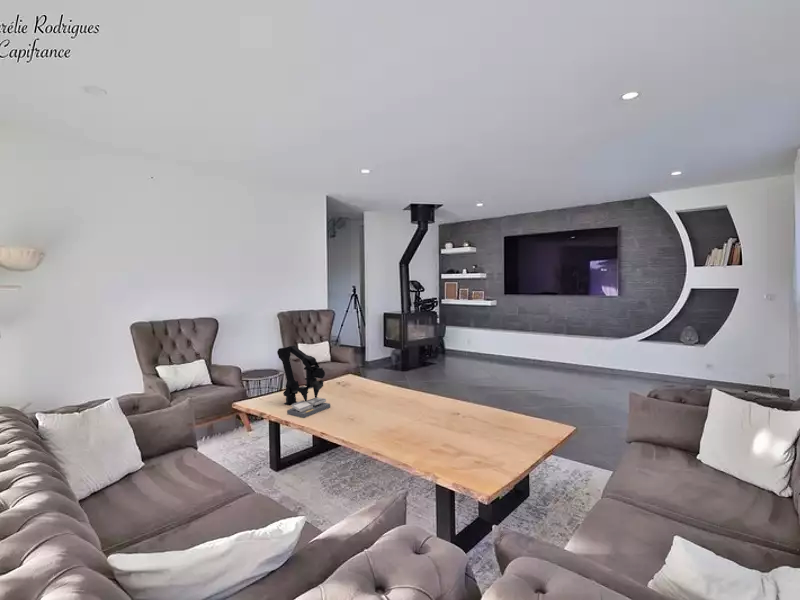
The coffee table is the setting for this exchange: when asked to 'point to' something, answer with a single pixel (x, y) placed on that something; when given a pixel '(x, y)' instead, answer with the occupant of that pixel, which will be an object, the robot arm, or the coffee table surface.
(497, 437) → the coffee table surface
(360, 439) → the coffee table surface
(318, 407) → the switch unit
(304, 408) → the grey flat slab
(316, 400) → the rocker
